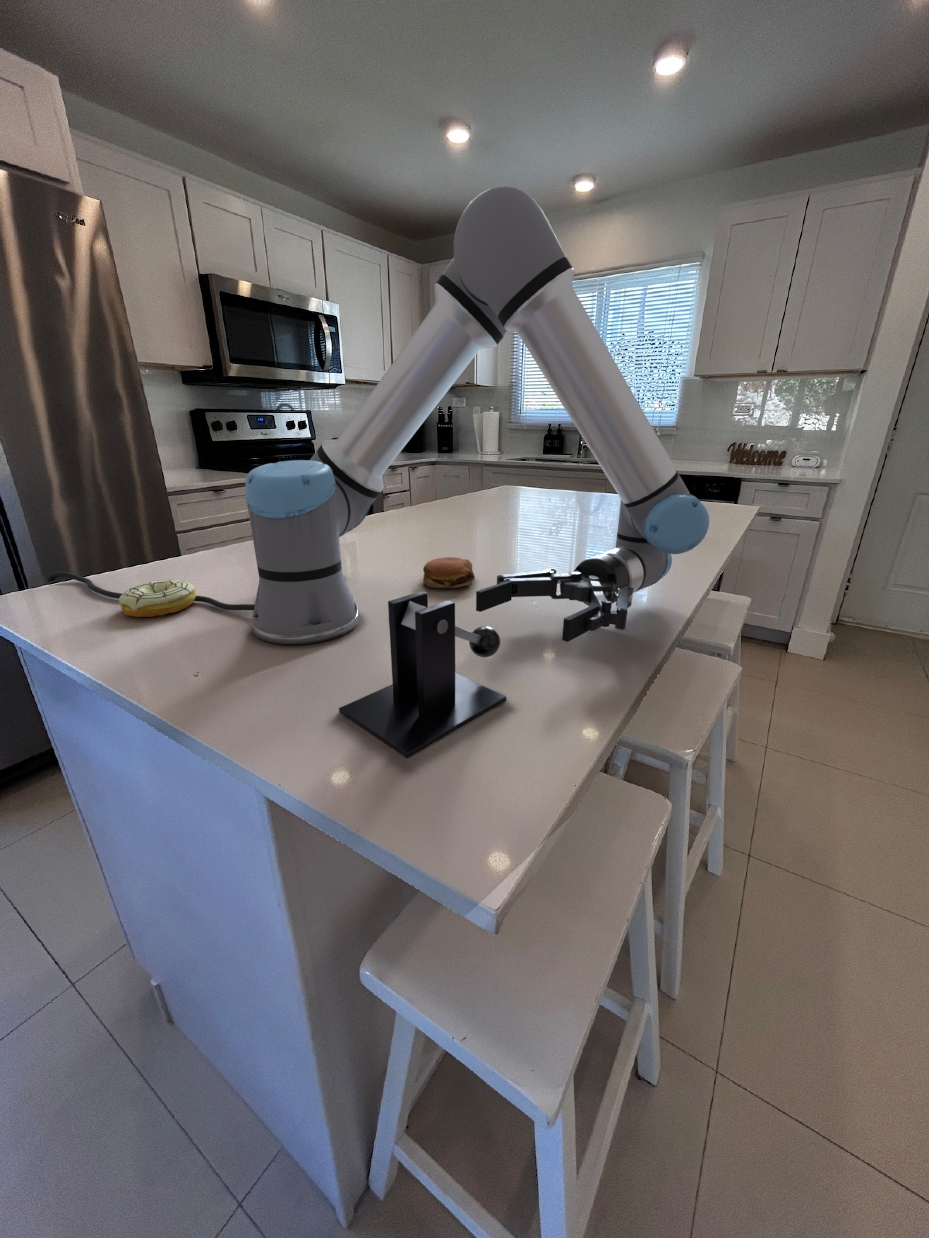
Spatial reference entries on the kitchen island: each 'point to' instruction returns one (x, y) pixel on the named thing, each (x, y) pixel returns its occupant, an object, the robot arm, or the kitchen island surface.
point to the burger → (448, 573)
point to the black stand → (421, 683)
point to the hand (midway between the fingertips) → (518, 615)
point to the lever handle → (463, 634)
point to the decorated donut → (157, 598)
